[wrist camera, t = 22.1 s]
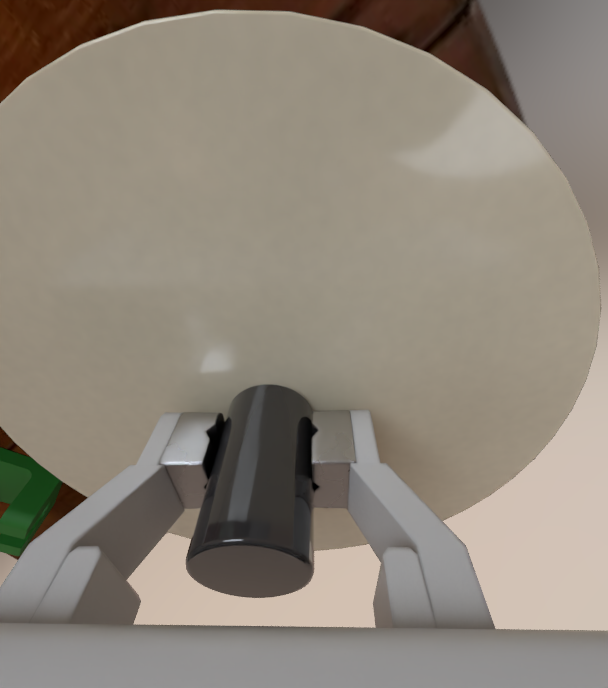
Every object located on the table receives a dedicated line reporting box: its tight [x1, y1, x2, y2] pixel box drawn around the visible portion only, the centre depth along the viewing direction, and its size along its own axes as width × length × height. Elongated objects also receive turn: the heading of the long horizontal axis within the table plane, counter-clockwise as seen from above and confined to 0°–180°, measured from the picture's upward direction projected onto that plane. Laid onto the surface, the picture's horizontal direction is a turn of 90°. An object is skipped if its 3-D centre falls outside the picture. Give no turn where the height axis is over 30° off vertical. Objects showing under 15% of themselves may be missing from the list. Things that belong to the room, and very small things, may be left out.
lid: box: [0, 9, 601, 598], centre depth 8 cm, size 17×17×5 cm
